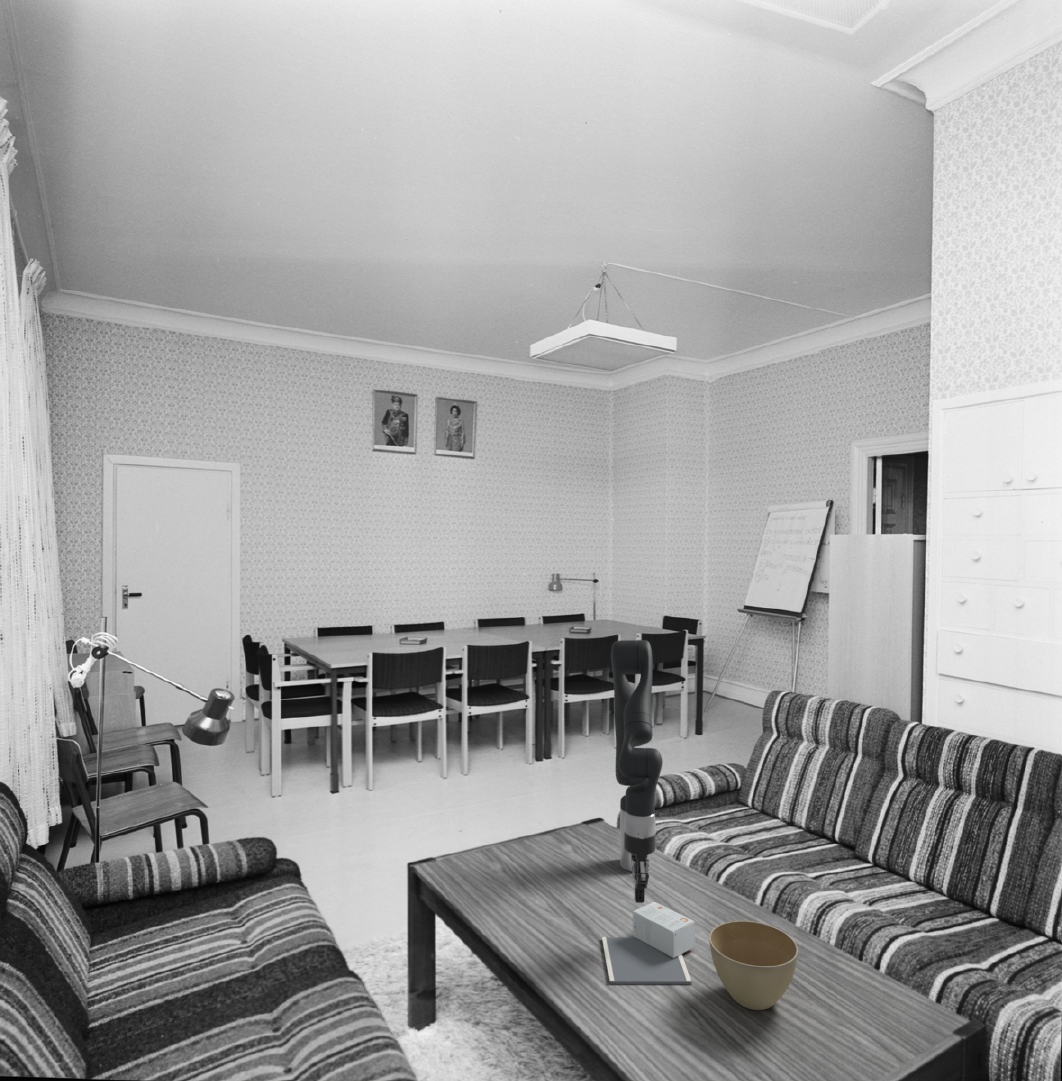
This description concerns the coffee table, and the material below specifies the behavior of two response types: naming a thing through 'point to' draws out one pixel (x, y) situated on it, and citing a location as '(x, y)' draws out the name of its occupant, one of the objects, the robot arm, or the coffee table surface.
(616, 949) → the mat
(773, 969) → the beige round bowl
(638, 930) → the small box
